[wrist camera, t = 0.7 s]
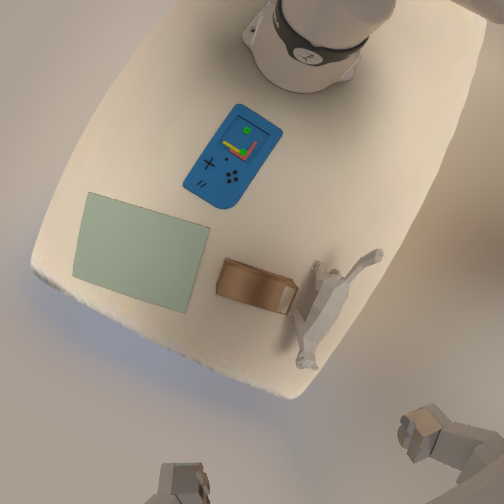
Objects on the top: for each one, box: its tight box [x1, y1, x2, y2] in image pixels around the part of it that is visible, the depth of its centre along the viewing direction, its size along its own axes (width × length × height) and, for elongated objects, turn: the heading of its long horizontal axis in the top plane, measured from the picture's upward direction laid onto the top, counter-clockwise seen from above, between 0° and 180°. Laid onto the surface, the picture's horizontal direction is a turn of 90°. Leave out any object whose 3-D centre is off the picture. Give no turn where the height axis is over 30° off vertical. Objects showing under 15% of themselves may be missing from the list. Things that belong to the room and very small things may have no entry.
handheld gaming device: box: [183, 104, 283, 209], centre depth 43 cm, size 8×1×15 cm
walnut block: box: [216, 258, 298, 315], centre depth 45 cm, size 11×4×5 cm, turn 70°
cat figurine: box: [288, 249, 383, 370], centre depth 42 cm, size 4×20×14 cm, turn 155°
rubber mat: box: [72, 192, 210, 313], centre depth 44 cm, size 14×20×1 cm
